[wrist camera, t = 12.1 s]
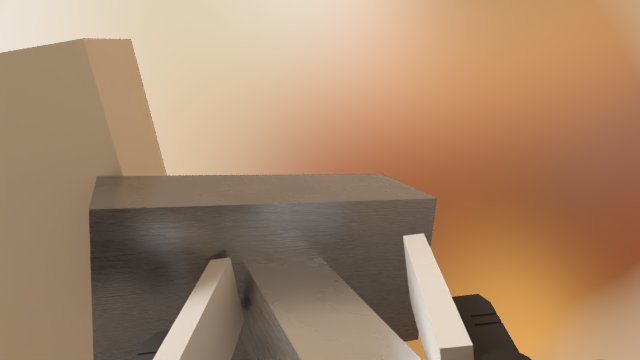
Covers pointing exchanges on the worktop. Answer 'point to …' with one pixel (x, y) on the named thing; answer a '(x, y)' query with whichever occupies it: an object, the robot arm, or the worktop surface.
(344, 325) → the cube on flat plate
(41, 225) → the riser
